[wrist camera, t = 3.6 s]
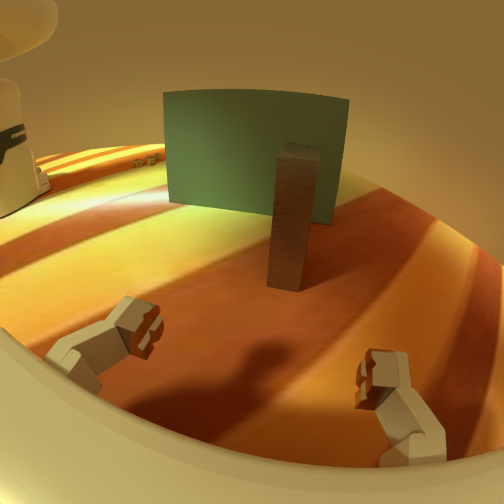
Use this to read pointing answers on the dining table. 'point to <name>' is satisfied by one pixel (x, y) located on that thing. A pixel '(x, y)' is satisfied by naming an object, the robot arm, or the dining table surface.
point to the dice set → (149, 159)
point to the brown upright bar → (292, 214)
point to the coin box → (249, 146)
